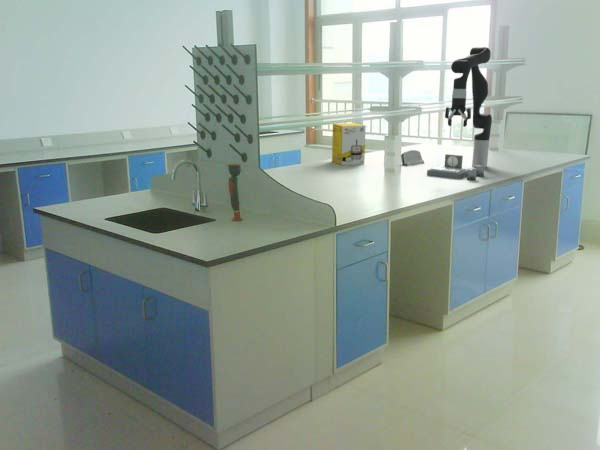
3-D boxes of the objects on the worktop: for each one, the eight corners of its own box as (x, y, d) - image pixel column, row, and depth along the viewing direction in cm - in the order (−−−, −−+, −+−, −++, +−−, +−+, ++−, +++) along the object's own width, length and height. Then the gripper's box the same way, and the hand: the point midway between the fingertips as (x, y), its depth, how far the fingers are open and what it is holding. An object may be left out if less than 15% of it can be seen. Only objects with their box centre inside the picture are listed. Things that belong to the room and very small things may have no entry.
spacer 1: (468, 178, 345) (469, 168, 343) (477, 179, 342) (477, 169, 340) (465, 179, 341) (466, 169, 339) (474, 180, 338) (474, 170, 336)
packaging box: (354, 160, 407) (355, 123, 401) (364, 164, 392) (365, 125, 386) (332, 161, 402) (332, 123, 396) (341, 165, 387) (342, 126, 381)
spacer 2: (476, 174, 356) (477, 164, 354) (485, 175, 353) (486, 165, 351) (473, 176, 352) (474, 166, 350) (482, 177, 349) (483, 166, 347)
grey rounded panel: (407, 165, 386) (404, 150, 386) (402, 167, 390) (398, 152, 390) (424, 163, 396) (421, 148, 396) (419, 164, 400) (416, 150, 400)
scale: (437, 171, 367) (438, 153, 364) (469, 174, 356) (471, 156, 353) (426, 175, 354) (428, 156, 351) (459, 178, 343) (461, 159, 340)
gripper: (473, 97, 335) (471, 126, 339) (449, 96, 343) (447, 125, 347) (469, 97, 329) (467, 127, 333) (444, 97, 337) (442, 126, 341)
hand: (457, 126), depth 340 cm, fingers open, 8 cm apart
